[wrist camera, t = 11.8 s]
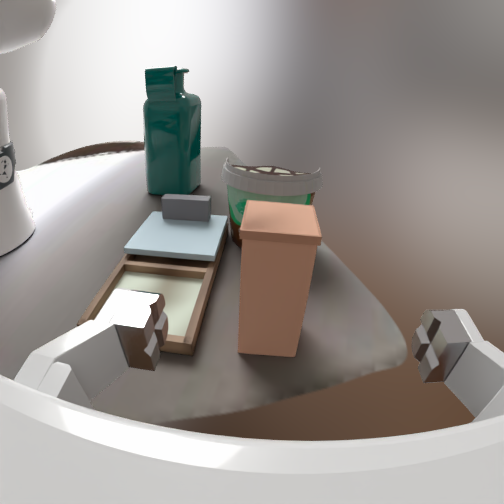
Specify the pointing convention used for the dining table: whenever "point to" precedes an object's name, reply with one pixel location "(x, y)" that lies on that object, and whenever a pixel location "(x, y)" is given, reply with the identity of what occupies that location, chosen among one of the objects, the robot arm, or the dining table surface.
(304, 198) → the food container
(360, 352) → the dining table surface
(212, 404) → the dining table surface
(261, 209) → the canister
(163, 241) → the cover
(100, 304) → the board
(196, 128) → the green bottle
